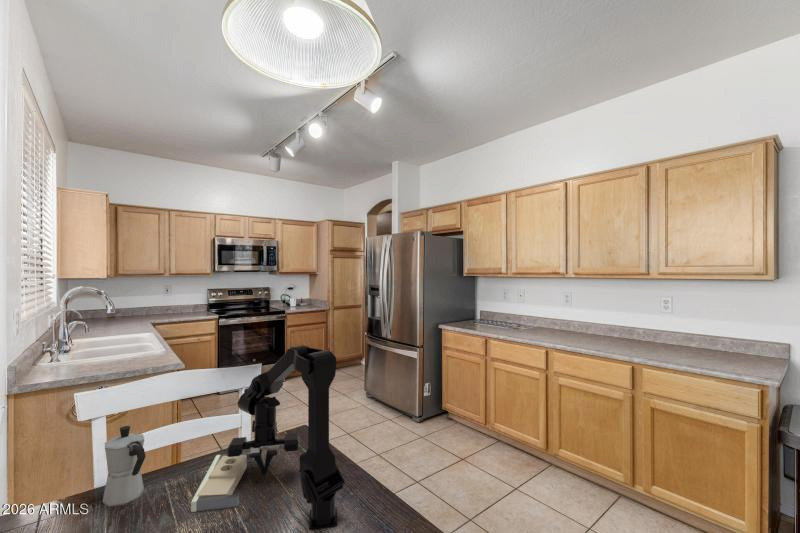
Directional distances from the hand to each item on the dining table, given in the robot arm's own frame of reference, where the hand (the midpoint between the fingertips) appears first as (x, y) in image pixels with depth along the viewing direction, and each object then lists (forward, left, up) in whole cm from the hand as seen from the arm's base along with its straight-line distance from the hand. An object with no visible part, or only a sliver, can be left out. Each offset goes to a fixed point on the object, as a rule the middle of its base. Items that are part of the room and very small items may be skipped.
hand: (264, 474), depth 104 cm
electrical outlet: (0, +11, -2) cm, 11 cm away
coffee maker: (-2, +34, -2) cm, 34 cm away
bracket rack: (0, +10, -1) cm, 10 cm away
